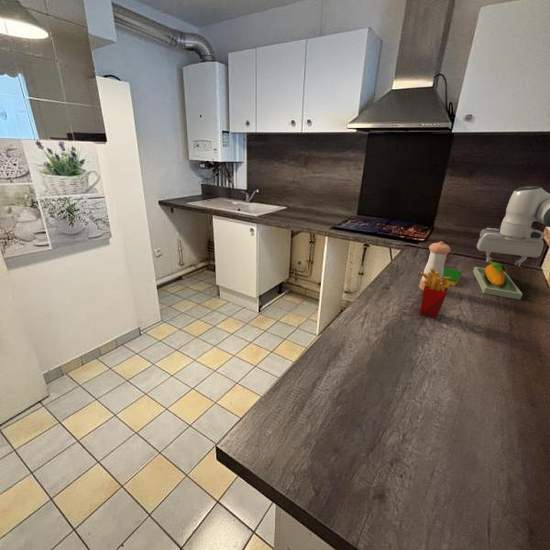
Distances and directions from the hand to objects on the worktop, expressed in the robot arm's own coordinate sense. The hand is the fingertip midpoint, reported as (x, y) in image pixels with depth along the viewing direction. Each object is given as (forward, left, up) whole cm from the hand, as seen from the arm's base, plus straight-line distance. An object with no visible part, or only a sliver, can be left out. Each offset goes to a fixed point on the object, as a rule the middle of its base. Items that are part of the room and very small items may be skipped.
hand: (502, 264), depth 116 cm
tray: (0, 0, -9) cm, 9 cm away
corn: (+1, 0, -9) cm, 9 cm away
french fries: (+27, +40, -9) cm, 50 cm away
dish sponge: (+17, +3, -9) cm, 20 cm away
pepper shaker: (+25, +18, -9) cm, 33 cm away
